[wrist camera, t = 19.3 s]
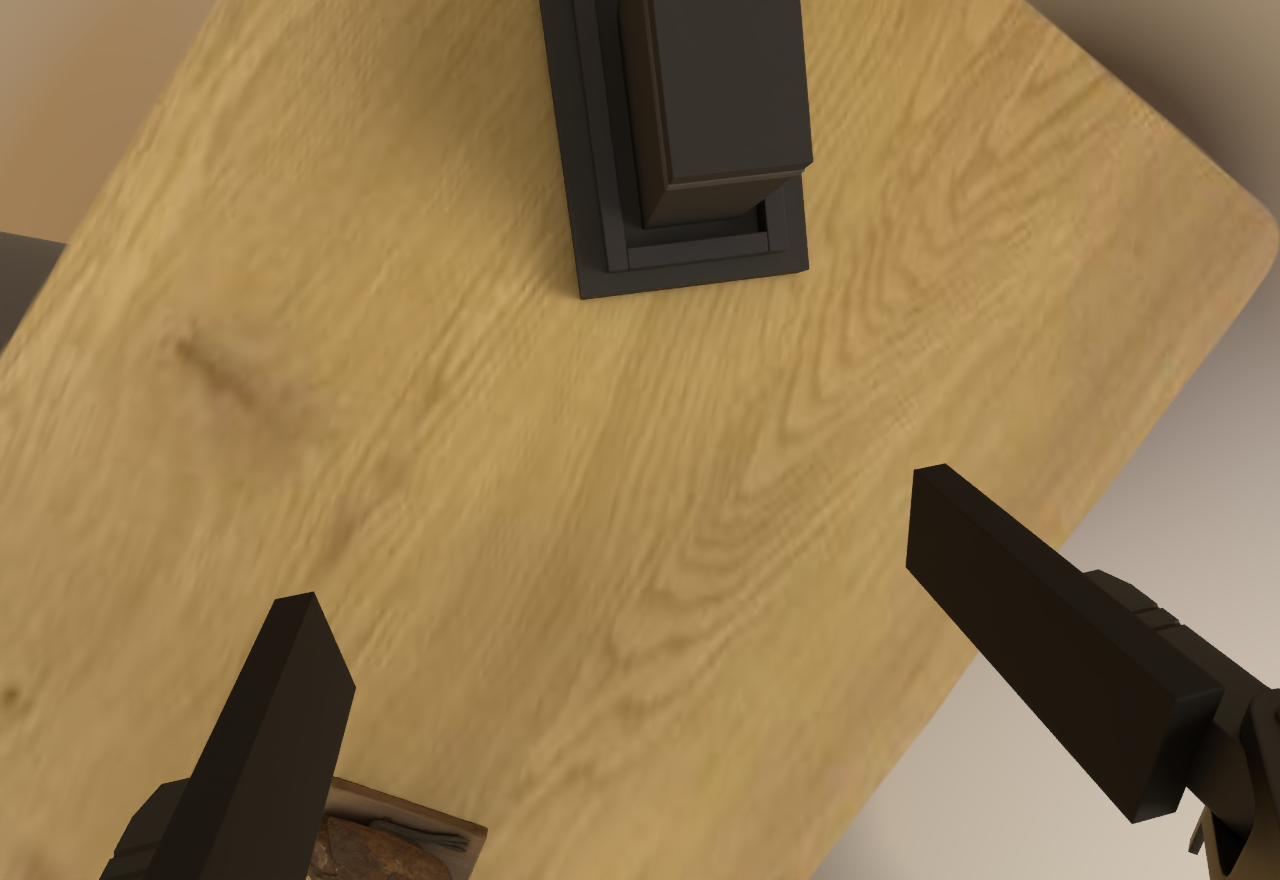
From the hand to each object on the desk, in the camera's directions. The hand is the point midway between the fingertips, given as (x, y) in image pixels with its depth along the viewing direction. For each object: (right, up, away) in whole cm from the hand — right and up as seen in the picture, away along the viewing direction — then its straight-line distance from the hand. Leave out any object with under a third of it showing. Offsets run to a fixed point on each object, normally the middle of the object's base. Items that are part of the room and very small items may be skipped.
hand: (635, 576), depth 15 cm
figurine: (-12, -21, +25) cm, 35 cm away
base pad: (+2, +19, +20) cm, 28 cm away
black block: (+2, +19, +18) cm, 26 cm away
